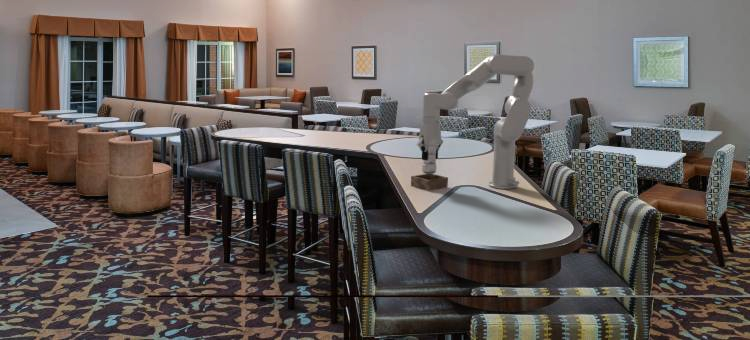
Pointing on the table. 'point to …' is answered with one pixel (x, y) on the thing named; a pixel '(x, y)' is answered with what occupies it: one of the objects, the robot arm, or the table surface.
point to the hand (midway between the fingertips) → (429, 158)
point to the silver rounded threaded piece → (430, 158)
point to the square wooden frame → (429, 181)
